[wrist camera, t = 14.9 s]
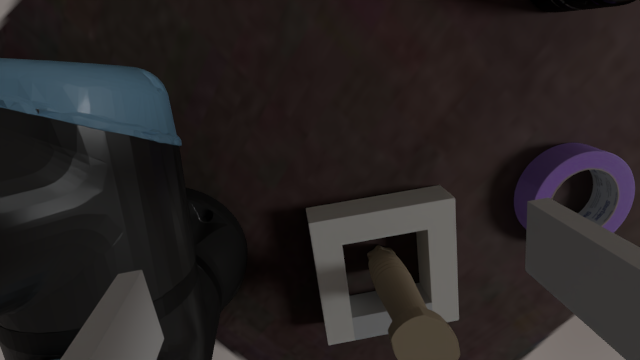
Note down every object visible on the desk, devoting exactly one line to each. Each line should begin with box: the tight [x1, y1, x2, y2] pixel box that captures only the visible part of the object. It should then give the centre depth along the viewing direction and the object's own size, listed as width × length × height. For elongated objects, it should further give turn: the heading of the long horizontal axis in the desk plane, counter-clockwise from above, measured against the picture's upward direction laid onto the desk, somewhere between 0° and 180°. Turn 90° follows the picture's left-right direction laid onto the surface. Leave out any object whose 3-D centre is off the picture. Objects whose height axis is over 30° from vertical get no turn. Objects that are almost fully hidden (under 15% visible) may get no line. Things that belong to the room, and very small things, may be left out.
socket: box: [306, 185, 459, 345], centre depth 45 cm, size 15×15×4 cm
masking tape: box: [514, 143, 635, 233], centre depth 45 cm, size 12×12×4 cm
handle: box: [367, 245, 460, 360], centre depth 40 cm, size 5×6×15 cm
